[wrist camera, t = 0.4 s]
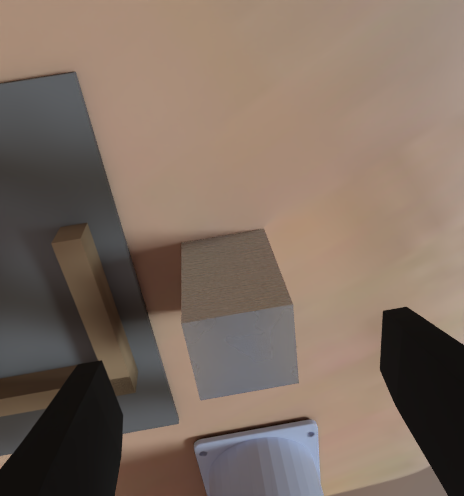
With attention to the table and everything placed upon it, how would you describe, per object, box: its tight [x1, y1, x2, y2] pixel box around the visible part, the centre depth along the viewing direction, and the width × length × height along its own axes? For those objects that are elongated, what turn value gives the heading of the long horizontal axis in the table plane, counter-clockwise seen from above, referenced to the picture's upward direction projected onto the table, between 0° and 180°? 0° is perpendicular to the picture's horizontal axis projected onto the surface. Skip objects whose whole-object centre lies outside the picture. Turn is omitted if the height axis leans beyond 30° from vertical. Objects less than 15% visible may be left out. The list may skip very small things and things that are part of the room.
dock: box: [0, 72, 179, 456], centre depth 20 cm, size 20×11×2 cm, turn 8°
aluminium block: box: [181, 229, 299, 400], centre depth 18 cm, size 4×4×6 cm
